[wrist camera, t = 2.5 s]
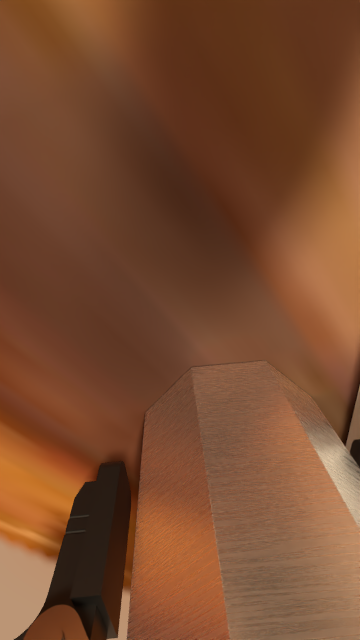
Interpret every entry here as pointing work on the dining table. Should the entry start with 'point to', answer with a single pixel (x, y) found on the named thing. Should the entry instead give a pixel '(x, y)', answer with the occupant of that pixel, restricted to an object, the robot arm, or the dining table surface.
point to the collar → (244, 514)
